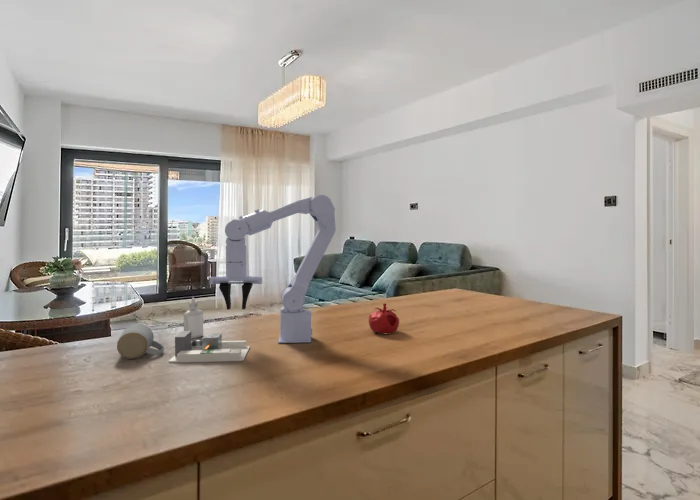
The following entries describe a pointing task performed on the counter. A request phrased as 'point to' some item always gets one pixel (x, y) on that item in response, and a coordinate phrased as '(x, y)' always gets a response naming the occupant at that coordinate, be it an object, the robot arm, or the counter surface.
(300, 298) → the robot arm
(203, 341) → the plunger
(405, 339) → the counter surface
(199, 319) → the eye dropper bottle
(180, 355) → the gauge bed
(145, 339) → the ceramic mug
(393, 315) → the pomegranate
